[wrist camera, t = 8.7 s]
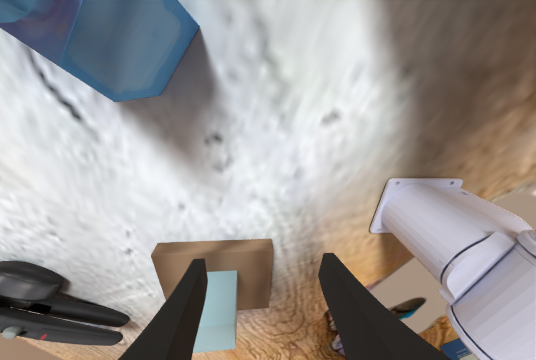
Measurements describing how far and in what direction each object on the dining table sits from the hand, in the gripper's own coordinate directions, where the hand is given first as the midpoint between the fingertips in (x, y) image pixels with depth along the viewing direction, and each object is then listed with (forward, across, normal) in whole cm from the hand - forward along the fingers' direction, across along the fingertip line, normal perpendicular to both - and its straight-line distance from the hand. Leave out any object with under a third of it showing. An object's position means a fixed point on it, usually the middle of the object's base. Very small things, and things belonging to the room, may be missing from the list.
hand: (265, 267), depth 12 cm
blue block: (+8, +5, +14) cm, 17 cm away
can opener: (+11, +25, +17) cm, 32 cm away
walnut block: (+11, +5, +14) cm, 18 cm away
